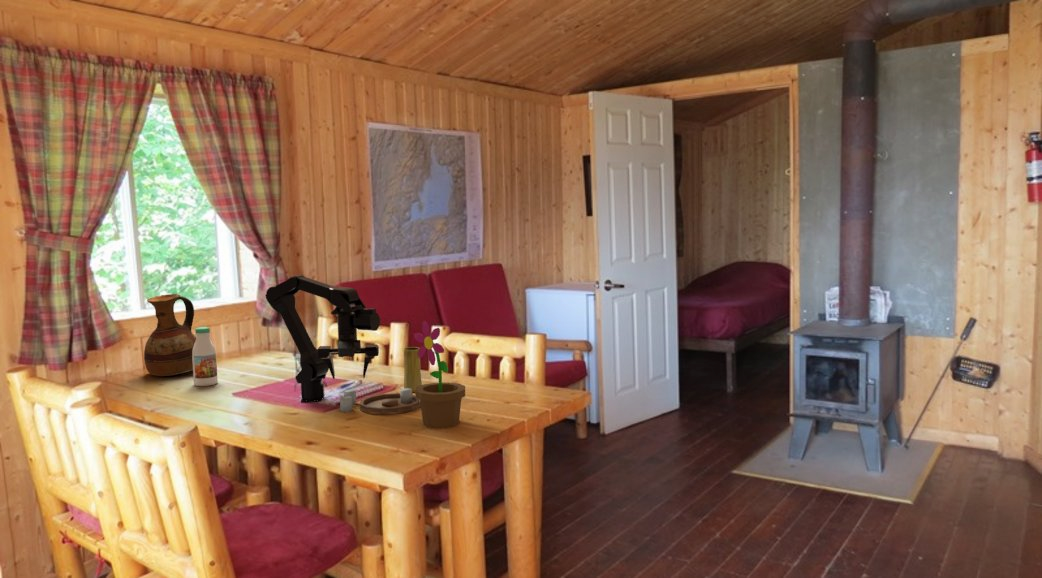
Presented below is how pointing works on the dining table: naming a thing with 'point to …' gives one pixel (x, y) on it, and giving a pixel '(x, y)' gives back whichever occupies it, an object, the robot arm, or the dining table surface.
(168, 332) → the ceramic pitcher
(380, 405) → the tray
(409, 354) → the vase
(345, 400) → the bead
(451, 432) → the dining table surface
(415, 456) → the dining table surface
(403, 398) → the bead seated
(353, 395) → the bead
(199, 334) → the milk bottle
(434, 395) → the flowerpot
